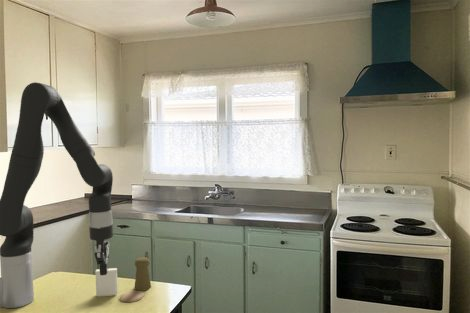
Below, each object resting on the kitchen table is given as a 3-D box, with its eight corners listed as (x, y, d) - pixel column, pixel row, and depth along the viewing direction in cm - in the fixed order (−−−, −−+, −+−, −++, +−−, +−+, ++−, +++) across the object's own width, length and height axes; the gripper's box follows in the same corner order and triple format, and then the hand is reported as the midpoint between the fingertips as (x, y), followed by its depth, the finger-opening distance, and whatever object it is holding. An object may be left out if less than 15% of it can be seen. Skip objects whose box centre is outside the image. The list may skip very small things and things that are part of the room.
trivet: (118, 303, 125) (118, 301, 125) (121, 293, 133) (121, 291, 133) (142, 301, 126) (142, 299, 126) (144, 291, 134) (144, 289, 134)
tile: (96, 296, 130) (95, 271, 130) (97, 293, 133) (96, 269, 132) (116, 294, 131) (116, 270, 131) (117, 292, 134) (117, 267, 133)
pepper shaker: (146, 291, 134) (145, 261, 133) (131, 290, 135) (130, 260, 135) (153, 284, 140) (152, 255, 139) (138, 283, 141) (138, 255, 141)
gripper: (93, 220, 130) (96, 268, 131) (84, 229, 117) (87, 283, 118) (115, 218, 132) (118, 266, 133) (109, 228, 119) (111, 280, 120)
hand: (103, 274), depth 125 cm, fingers closed
